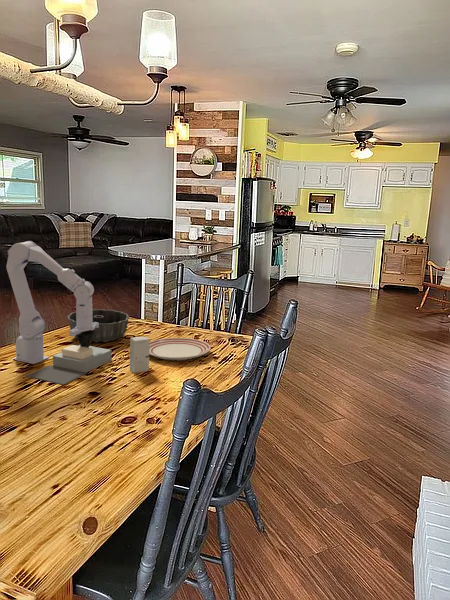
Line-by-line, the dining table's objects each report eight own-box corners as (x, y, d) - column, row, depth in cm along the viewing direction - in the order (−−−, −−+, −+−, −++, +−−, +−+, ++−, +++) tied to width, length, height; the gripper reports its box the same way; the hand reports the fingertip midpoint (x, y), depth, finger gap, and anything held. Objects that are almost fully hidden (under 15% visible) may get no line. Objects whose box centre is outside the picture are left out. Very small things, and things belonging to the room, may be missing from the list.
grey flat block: (53, 366, 170) (52, 355, 169) (81, 354, 184) (81, 344, 183) (84, 373, 165) (84, 362, 164) (111, 359, 179) (111, 350, 178)
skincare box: (133, 373, 167) (134, 341, 164) (129, 369, 170) (129, 337, 168) (149, 370, 170) (150, 338, 168) (144, 366, 174) (145, 335, 171)
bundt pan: (138, 333, 217) (138, 312, 215) (112, 349, 192) (112, 326, 190) (87, 327, 222) (86, 306, 220) (55, 342, 197) (54, 319, 195)
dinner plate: (129, 357, 184) (129, 349, 183) (164, 340, 209) (164, 333, 208) (192, 369, 174) (192, 361, 173) (220, 350, 199) (220, 342, 198)
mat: (25, 376, 159) (25, 375, 159) (50, 365, 170) (50, 365, 170) (63, 385, 153) (63, 384, 153) (86, 373, 164) (86, 372, 164)
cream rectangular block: (62, 355, 170) (62, 348, 169) (73, 350, 175) (73, 344, 175) (82, 359, 166) (82, 352, 166) (92, 354, 172) (92, 348, 172)
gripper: (80, 320, 164) (81, 357, 166) (105, 312, 177) (105, 346, 180) (64, 318, 166) (65, 354, 169) (90, 310, 179) (90, 343, 182)
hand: (84, 350), depth 174 cm, fingers closed
